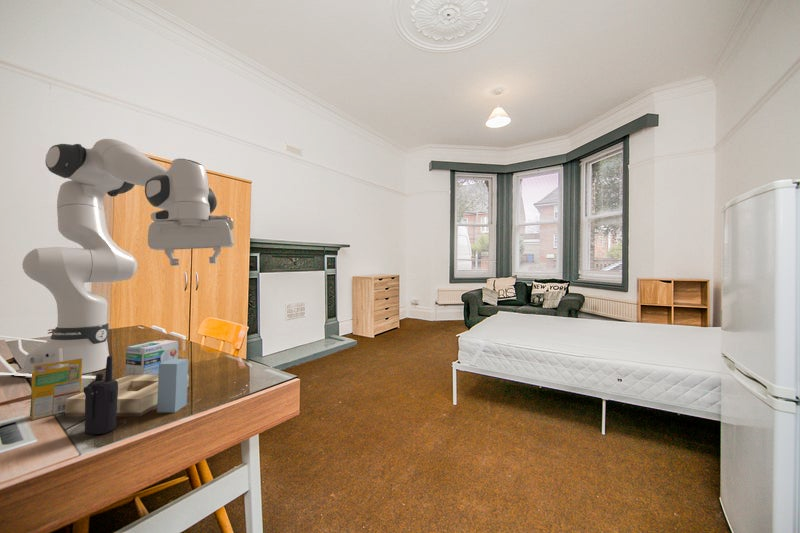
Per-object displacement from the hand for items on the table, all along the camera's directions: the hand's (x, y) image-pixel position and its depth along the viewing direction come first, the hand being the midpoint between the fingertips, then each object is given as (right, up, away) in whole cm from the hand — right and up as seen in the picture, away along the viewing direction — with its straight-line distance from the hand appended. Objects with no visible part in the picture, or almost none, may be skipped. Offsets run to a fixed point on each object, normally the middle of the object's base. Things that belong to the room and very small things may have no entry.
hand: (194, 264), depth 84 cm
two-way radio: (-2, -34, -25) cm, 42 cm away
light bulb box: (-15, -34, +4) cm, 38 cm away
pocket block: (-8, -34, -10) cm, 36 cm away
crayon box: (-20, -34, -17) cm, 42 cm away
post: (+4, -34, -14) cm, 37 cm away
